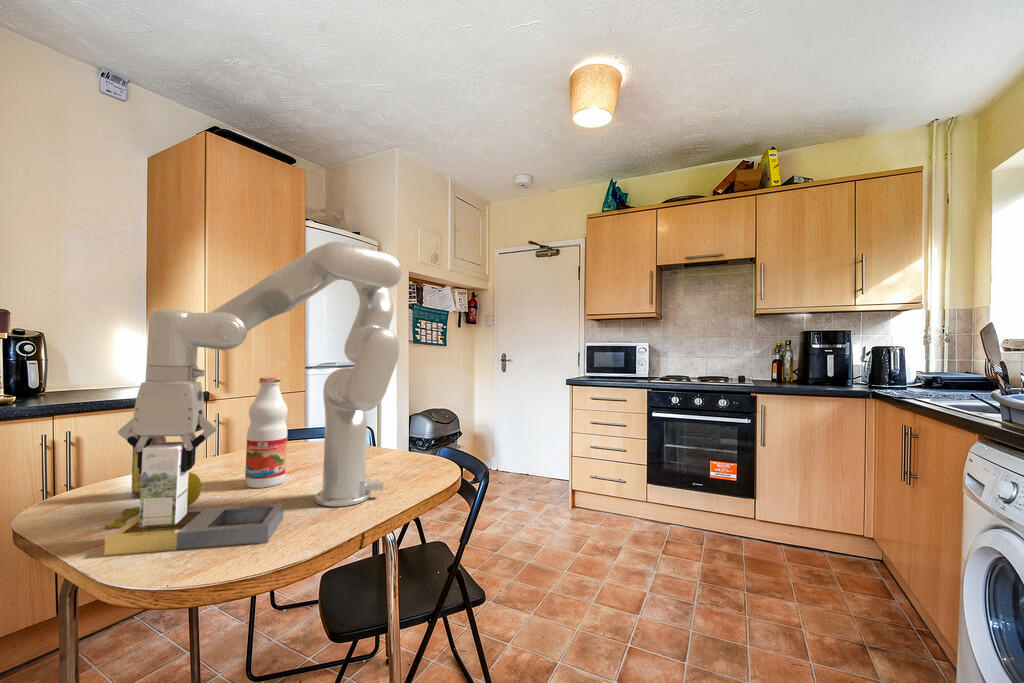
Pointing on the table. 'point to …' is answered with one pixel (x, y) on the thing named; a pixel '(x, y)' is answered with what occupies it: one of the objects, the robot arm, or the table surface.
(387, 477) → the table surface
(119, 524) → the key
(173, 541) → the tray
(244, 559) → the table surface
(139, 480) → the sauce bottle
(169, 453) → the syrup box
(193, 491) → the lemon
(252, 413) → the fruit juice
